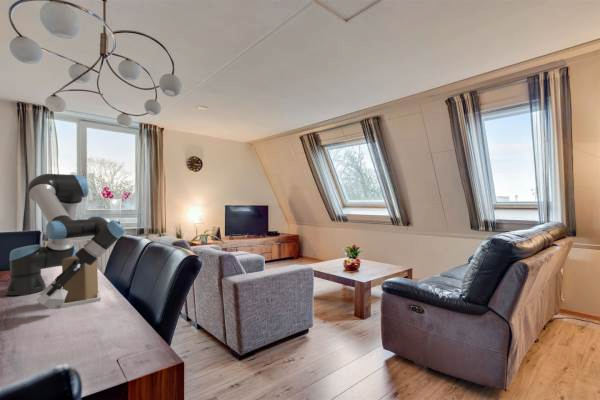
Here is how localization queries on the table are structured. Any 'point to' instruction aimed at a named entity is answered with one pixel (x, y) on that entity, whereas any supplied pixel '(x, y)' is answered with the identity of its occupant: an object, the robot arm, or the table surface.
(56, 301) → the die
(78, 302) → the base frame
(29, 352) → the table surface
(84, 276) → the wooden block
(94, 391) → the table surface
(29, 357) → the table surface
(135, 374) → the table surface
